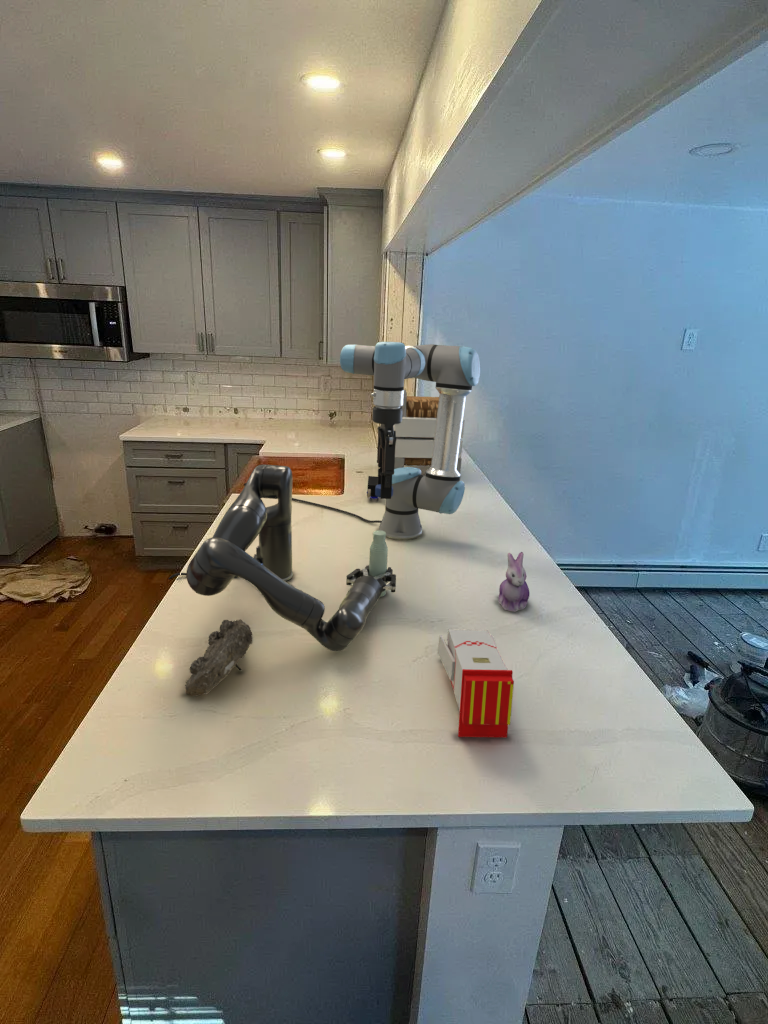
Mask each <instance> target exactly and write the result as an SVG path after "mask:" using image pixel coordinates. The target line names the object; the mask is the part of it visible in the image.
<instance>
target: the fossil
mask: <svg viewBox="0 0 768 1024" xmlns="http://www.w3.org/2000/svg"><path fill="white" fill-rule="evenodd" d="M207 641H208V643H207V645H208V646H207V648H206V649H205V652H204V654H203V655H202V656H198V657H197V658H196V659H195V660H193V661H192V662H191V664H190V666H189V668H188V670H189V672H190V674H191V675H190V676H189V678H188V679H186V681H185V685H184V686H185V694H187V695H191V696H192V697H197V696H201V695H207V694H209V693H210V692H211V691H212V690H213V689H214V688H215V687H217V686H218V685H219V684H220V682H222V681H223V680H224V679H225V678H226V677H227V676H229V674H230V673H231V672H232V669H234V668H236V669H237V670H238V671H240V672H241V671H242V668H241V667H240V666H239V665H238V663H239V662H240V660H241V659H243V658H244V656H245V655H247V651H248V649H249V648H250V646H251V645H252V644H253V632H252V630H251V627H250V625H249V624H247V623H245V621H244V620H243V619H236V620H235V619H234V620H229V619H223V620H222V621H221V624H220V625H219V630H215V631H211V633H210V634H209V635H208V640H207Z"/></svg>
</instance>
